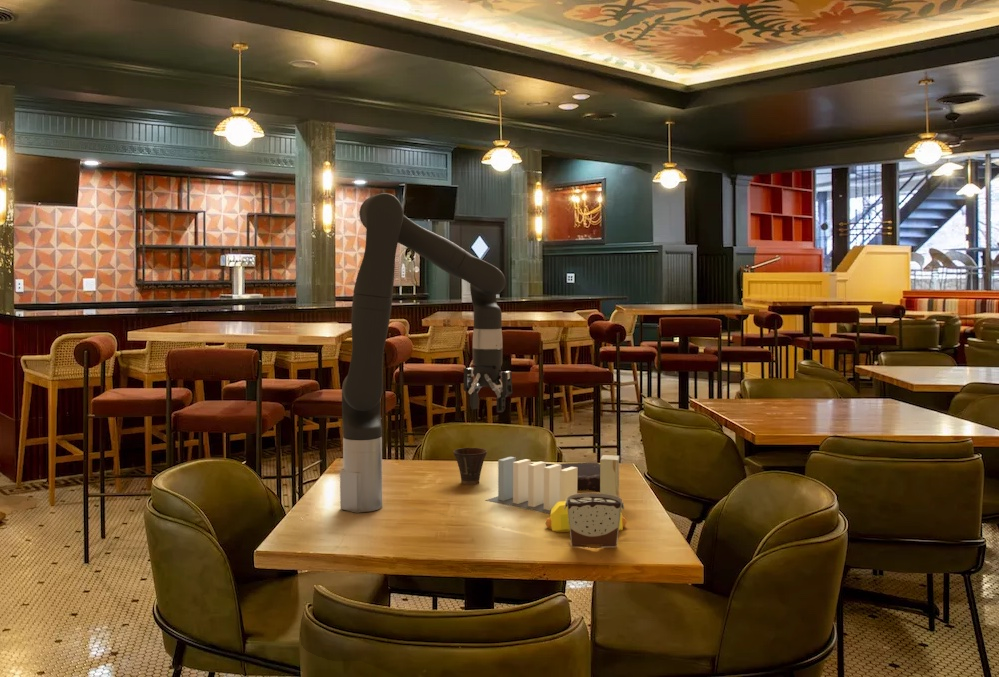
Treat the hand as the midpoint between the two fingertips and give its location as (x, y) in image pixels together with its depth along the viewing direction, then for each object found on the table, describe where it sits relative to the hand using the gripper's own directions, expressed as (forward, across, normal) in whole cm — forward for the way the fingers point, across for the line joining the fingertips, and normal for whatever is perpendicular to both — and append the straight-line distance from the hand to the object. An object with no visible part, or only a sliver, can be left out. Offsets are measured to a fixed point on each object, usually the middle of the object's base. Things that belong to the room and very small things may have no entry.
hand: (487, 410), depth 214 cm
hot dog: (+22, +36, -9) cm, 43 cm away
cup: (+22, -11, +6) cm, 26 cm away
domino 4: (+21, +20, 0) cm, 30 cm away
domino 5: (+21, +25, 0) cm, 33 cm away
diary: (+23, +7, +22) cm, 32 cm away
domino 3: (+21, +16, 0) cm, 27 cm away
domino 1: (+21, +7, 0) cm, 22 cm away
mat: (+22, +16, 0) cm, 27 cm away
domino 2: (+21, +11, 0) cm, 24 cm away
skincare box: (+22, +30, +11) cm, 39 cm away
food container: (+22, +42, -16) cm, 50 cm away
